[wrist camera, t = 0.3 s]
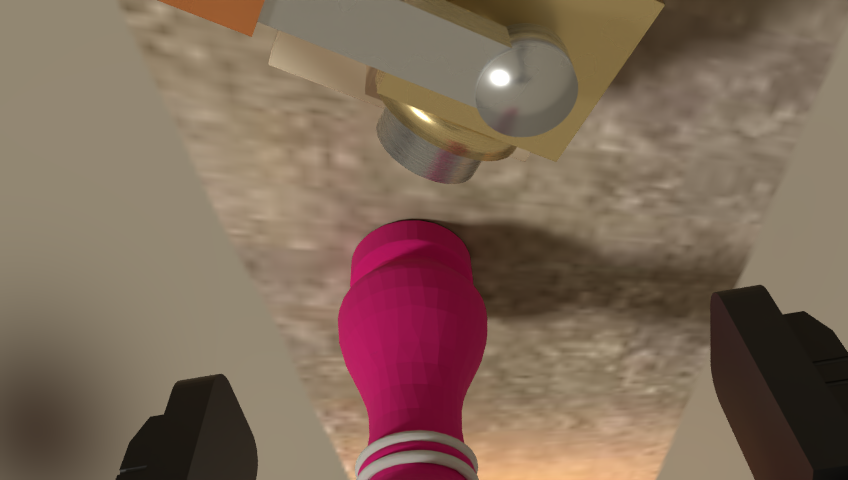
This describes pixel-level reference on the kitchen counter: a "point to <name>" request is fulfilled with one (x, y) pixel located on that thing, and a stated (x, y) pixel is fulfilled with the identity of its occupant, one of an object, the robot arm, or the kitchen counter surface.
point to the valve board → (333, 71)
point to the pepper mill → (413, 350)
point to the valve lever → (428, 51)
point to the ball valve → (462, 124)
